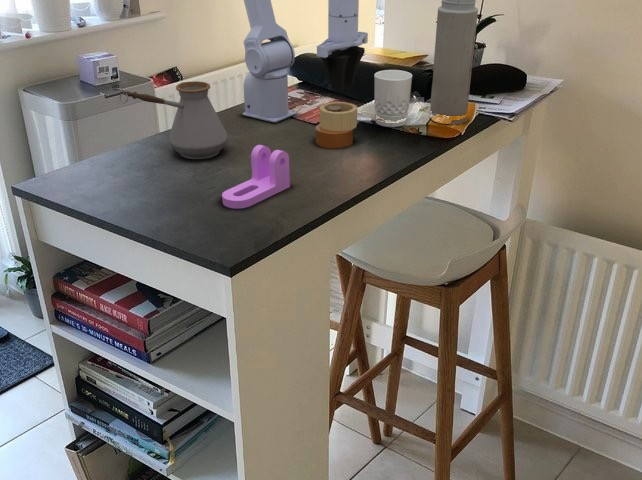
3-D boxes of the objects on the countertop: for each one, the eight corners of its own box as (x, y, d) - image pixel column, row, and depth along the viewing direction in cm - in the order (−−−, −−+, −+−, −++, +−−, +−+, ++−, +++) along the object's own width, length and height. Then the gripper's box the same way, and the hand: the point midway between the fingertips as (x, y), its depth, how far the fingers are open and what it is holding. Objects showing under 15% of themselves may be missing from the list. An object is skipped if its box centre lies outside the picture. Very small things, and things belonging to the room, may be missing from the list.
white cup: (410, 128, 159) (413, 80, 154) (373, 128, 160) (375, 80, 154) (407, 116, 166) (410, 69, 160) (371, 116, 166) (373, 69, 160)
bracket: (266, 179, 137) (264, 142, 133) (289, 186, 134) (288, 148, 130) (215, 203, 128) (212, 163, 125) (239, 211, 126) (236, 171, 122)
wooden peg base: (308, 143, 152) (307, 109, 148) (329, 133, 157) (329, 99, 153) (339, 151, 149) (339, 116, 145) (360, 140, 154) (361, 106, 150)
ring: (312, 126, 152) (312, 108, 150) (334, 117, 156) (334, 99, 154) (342, 133, 148) (343, 115, 146) (363, 124, 153) (364, 106, 151)
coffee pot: (204, 138, 155) (196, 62, 147) (240, 151, 149) (235, 73, 140) (115, 166, 143) (102, 85, 134) (151, 182, 136) (139, 98, 128)
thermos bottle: (467, 114, 167) (481, -26, 151) (465, 125, 160) (480, -19, 144) (430, 112, 168) (441, -27, 152) (427, 123, 162) (439, -20, 146)
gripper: (338, 23, 136) (337, 100, 144) (381, 10, 145) (378, 82, 153) (307, 19, 139) (308, 93, 147) (351, 6, 149) (350, 77, 157)
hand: (342, 87), depth 150 cm, fingers open, 3 cm apart
